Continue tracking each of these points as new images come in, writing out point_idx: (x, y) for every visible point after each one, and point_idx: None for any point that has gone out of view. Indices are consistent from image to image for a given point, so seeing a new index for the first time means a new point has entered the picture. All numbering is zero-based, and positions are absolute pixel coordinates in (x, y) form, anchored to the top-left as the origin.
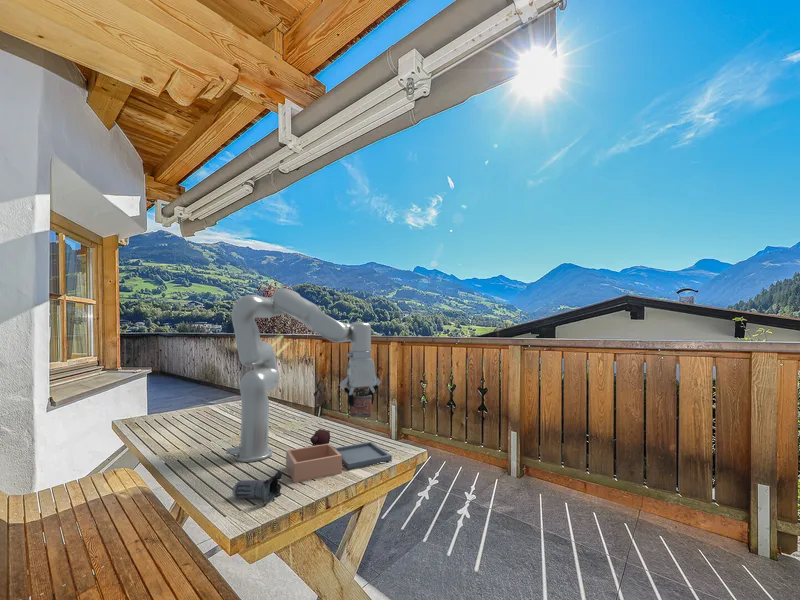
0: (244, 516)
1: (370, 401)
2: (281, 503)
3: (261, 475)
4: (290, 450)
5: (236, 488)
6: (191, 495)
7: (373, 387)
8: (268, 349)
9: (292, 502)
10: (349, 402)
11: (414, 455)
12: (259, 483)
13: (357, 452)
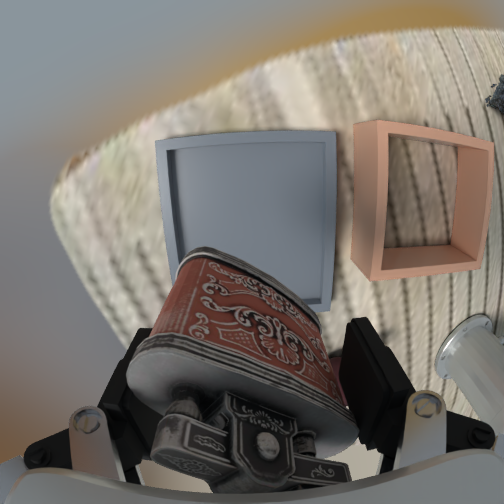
0: None
1: (164, 315)
2: (482, 66)
3: (493, 228)
4: (475, 263)
5: None
6: None
7: (72, 459)
8: None
9: (468, 54)
10: (389, 349)
11: (77, 167)
12: None
13: (252, 261)
